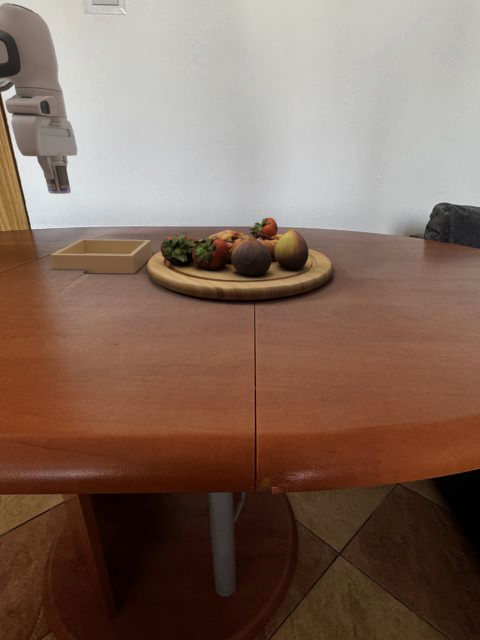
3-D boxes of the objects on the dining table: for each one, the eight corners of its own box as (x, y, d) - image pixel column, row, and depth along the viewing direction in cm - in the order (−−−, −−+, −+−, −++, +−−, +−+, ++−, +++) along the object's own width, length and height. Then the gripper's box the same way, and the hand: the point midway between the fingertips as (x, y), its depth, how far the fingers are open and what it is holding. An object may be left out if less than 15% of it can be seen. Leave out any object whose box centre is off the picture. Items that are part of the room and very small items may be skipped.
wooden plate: (229, 243, 87) (228, 205, 83) (360, 267, 71) (367, 221, 67) (108, 275, 63) (99, 224, 60) (262, 322, 47) (263, 256, 43)
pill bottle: (70, 191, 91) (63, 152, 87) (71, 193, 87) (63, 153, 83) (48, 192, 89) (40, 151, 85) (48, 194, 85) (39, 152, 81)
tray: (54, 272, 64) (50, 254, 63) (84, 254, 75) (81, 238, 74) (134, 273, 65) (132, 255, 63) (152, 255, 76) (150, 240, 74)
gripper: (51, 111, 89) (63, 175, 96) (-1, 101, 71) (18, 180, 78) (78, 112, 89) (88, 176, 96) (33, 102, 71) (49, 182, 78)
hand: (56, 178), depth 87 cm, fingers closed on pill bottle, 5 cm apart
